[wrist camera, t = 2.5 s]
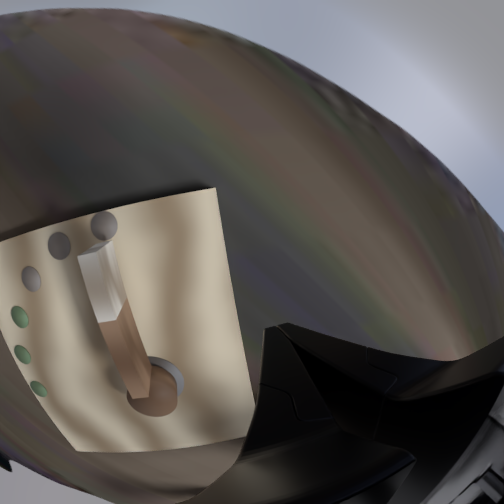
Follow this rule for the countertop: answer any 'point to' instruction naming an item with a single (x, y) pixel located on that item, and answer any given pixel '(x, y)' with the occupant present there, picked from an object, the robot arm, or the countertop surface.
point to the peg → (125, 334)
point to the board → (146, 318)
